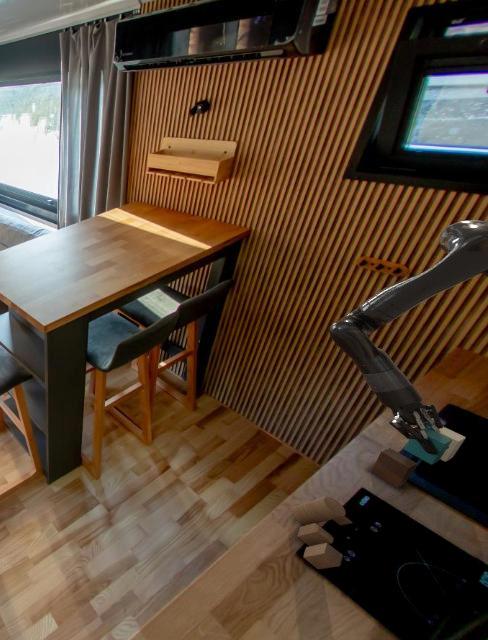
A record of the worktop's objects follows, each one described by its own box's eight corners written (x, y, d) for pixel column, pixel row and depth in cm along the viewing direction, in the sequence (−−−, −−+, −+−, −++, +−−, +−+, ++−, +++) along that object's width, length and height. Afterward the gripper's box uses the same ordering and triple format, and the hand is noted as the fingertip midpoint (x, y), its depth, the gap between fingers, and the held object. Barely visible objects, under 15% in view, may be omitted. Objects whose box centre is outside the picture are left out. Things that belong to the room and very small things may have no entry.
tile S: (410, 445, 98) (422, 424, 95) (439, 460, 94) (452, 439, 90) (403, 449, 98) (415, 428, 94) (431, 464, 93) (444, 444, 89)
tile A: (424, 442, 101) (436, 423, 97) (452, 457, 96) (466, 437, 93) (417, 446, 100) (429, 427, 97) (445, 461, 96) (459, 441, 92)
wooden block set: (321, 578, 81) (361, 573, 74) (278, 543, 85) (312, 535, 78) (337, 518, 90) (374, 508, 83) (297, 488, 94) (330, 477, 87)
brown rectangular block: (378, 467, 97) (389, 447, 94) (405, 483, 93) (417, 463, 89) (370, 471, 97) (381, 451, 93) (397, 488, 92) (409, 467, 89)
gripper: (389, 393, 93) (440, 463, 87) (426, 376, 95) (477, 442, 90) (356, 395, 100) (401, 459, 94) (391, 379, 102) (437, 440, 97)
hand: (438, 450), depth 92 cm, fingers closed on tile S, 3 cm apart
